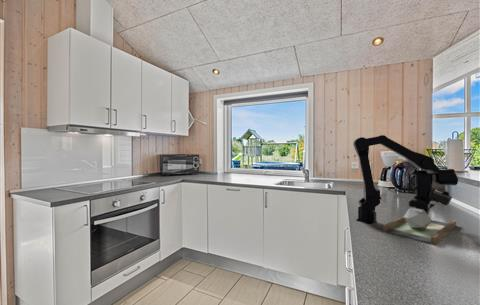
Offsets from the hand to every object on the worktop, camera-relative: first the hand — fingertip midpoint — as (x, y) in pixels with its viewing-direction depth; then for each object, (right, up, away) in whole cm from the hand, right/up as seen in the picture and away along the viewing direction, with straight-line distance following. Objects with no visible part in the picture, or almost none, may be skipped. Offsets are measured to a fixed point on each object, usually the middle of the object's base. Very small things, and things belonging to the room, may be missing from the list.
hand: (424, 220), depth 93 cm
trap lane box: (-3, -3, -1) cm, 4 cm away
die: (-5, -2, -1) cm, 6 cm away
